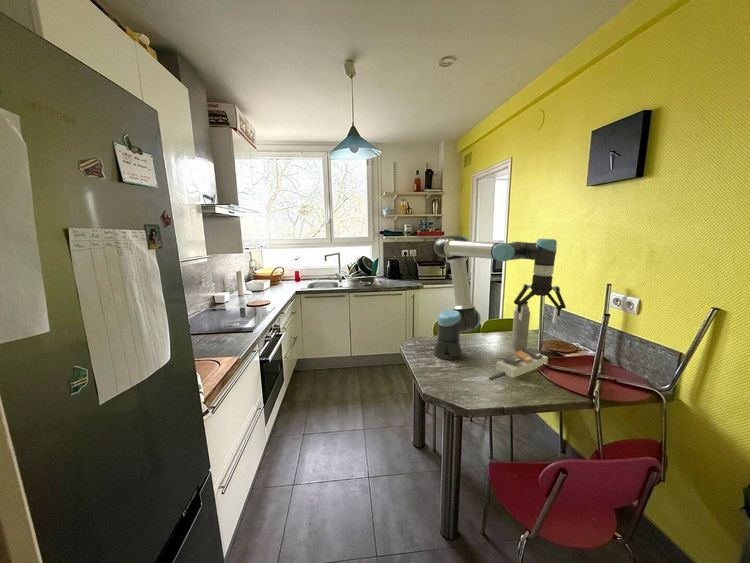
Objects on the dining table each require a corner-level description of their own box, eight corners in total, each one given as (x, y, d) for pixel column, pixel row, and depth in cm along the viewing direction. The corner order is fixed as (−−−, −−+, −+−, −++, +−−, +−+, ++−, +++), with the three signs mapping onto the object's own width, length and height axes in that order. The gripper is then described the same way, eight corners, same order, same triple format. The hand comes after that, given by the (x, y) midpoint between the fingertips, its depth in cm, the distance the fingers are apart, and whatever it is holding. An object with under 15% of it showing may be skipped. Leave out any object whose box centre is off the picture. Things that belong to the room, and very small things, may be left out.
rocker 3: (523, 351, 150) (524, 349, 149) (529, 349, 152) (530, 347, 152) (536, 359, 144) (537, 356, 144) (542, 357, 147) (543, 354, 146)
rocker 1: (503, 361, 142) (502, 358, 142) (509, 359, 145) (509, 356, 145) (516, 364, 136) (515, 361, 136) (522, 361, 138) (522, 358, 138)
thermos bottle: (511, 345, 172) (515, 298, 167) (526, 347, 169) (530, 300, 164) (511, 350, 165) (515, 302, 160) (526, 352, 162) (531, 303, 157)
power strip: (481, 375, 137) (481, 365, 136) (530, 357, 156) (531, 349, 155) (497, 383, 130) (498, 373, 129) (547, 364, 148) (548, 355, 147)
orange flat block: (513, 354, 146) (514, 352, 145) (519, 352, 148) (520, 350, 148) (526, 363, 140) (527, 360, 140) (532, 360, 143) (533, 358, 142)
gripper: (512, 274, 128) (507, 320, 132) (578, 278, 121) (571, 327, 125) (510, 271, 135) (505, 315, 139) (572, 275, 128) (565, 321, 132)
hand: (536, 321), depth 132 cm, fingers open, 13 cm apart
